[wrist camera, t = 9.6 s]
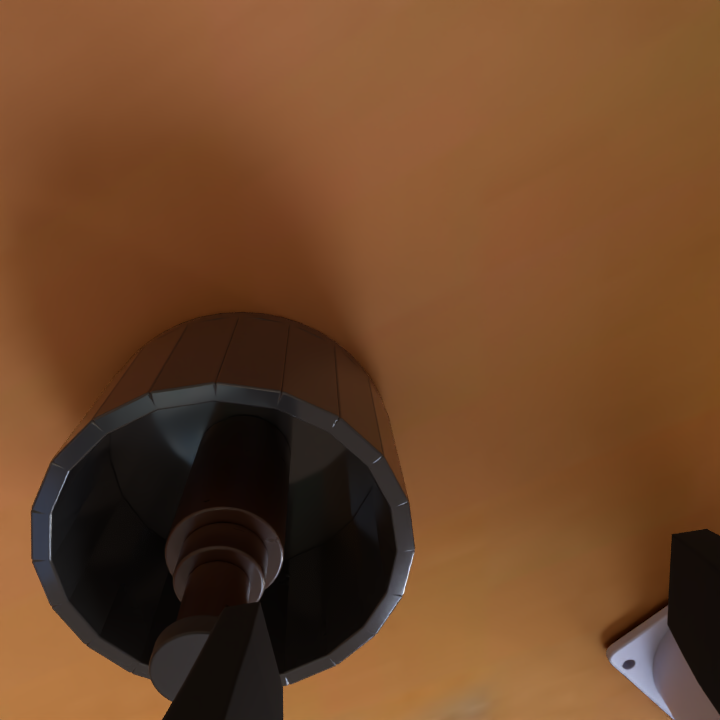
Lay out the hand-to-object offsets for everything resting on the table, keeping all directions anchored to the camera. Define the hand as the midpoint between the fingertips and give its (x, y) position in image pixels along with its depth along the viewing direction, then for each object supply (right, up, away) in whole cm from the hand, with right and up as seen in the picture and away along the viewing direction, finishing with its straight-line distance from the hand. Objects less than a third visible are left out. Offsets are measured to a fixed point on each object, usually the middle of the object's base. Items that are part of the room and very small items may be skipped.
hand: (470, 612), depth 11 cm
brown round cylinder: (-6, +1, +10) cm, 12 cm away
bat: (-6, +1, +10) cm, 11 cm away
